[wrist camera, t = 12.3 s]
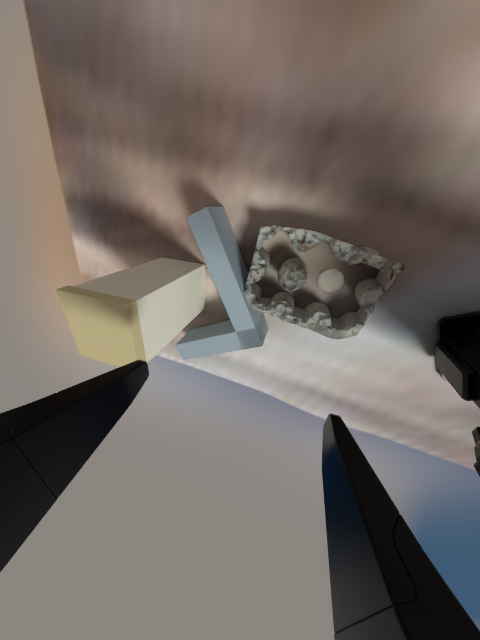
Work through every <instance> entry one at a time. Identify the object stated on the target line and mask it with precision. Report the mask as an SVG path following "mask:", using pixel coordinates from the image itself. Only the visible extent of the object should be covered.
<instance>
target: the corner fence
mask: <svg viewBox="0 0 480 640" xmlns="http://www.w3.org/2000/svg"><path fill="white" fill-rule="evenodd" d="M186 219H187V221H188V223H189V226H190V228H191V230H192V233H193V235H194V237H195V239H196V242H197V244H198V246H199V249H200V251H201V253H202V256H203V258H204V260H205V262H206V265H207V267H208V269H209V272H210V274H211V276H212V279H213V281H214V283H215V285H216V288H217V290H218V292H219V295H220V297H221V299H222V302H223V304H224V306H225V308H226V311H227V313H228V315H229V318H230V320H227V321H223V322H219V323H215V324H211V325H207V326H202V327H198V328H194V329H191V330H190V331H189V332H188V333H187V334H186V335H185V336H184V337H183V338H182V339H181V340H180V341H179V342H178V343H177V344H176V347H177V349H178V351H179V352H180V354H181V356H182V358H183V360H185V359H190V358H196V357H202V356H208V355H213V354H219V353H225V352H231V351H236V350H242V349H248V348H254V347H259V346H262V345H263V342H264V339H265V336H266V334H267V331H268V326H267V323H266V320H265V318H264V315H263V312H260V311H257V310H254V309H251V308H249V305H248V302H247V299H246V297H245V294H244V291H245V287H246V282H247V278H248V275H249V274H248V272H247V269H246V266H245V264H244V261H243V258H242V255H241V253H240V250H239V247H238V245H237V242H236V239H235V237H234V234H233V231H232V228H231V226H230V223H229V220H228V218H227V215H226V212H225V209H224V207H205V208H203V209H201V210H200V211H198V212H196V213H194V214H192V215H190V216H188V217H186Z"/></svg>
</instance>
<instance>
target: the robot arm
mask: <svg viewBox="0 0 480 640" xmlns="http://www.w3.org/2000/svg"><path fill="white" fill-rule="evenodd" d="M446 322H449V323H448V324H447V325H444V324H445V323H446ZM437 328H438V342H436V344H435V358H436V367H437V368H438V369H439V370H440V376H441V378H442V379H443V380H445V381H448V382H449V383H450V384H451V385H452V387H453V388H454V389H455V390H456V392H457V393H458V394H459V395H460V396H461V398H463V399H464V400H466V401H474V403H475V404H476V405H477V406H478V407H479V408H480V312H474V313H468V314H462V315H456V316H450V317H445V318H442V319H440V320H439V321H438V323H437ZM148 375H149V370H148V365H147V362H146V361H143V360H136V361H134V362H131V363H129V364H126V365H124V366H121V367H119V368H117V369H114V370H112V371H109V372H107V373H104V374H102V375H99V376H97V377H94V378H92V379H89V380H87V381H84V382H82V383H79V384H77V385H74V386H72V387H69V388H67V389H65V390H62V391H59V392H58V393H54V394H52V395H50V396H47V397H45V398H42V399H39V400H37V401H34V402H32V403H29V404H26V405H23V406H21V407H18V408H15V409H12V410H9V411H6V412H4V413H1V414H0V572H1V571H2V569H3V568H4V567H5V566H6V564H7V563H8V562H9V561H10V559H11V558H12V557H13V555H14V554H15V553H16V552H17V550H18V549H19V548H20V546H21V545H22V544H23V542H24V541H25V540H26V539H27V537H28V536H29V535H30V534H31V532H32V531H33V530H34V528H35V527H36V526H37V524H38V523H39V522H40V521H41V519H42V518H43V517H44V516H45V514H46V513H47V511H48V510H49V509H50V508H51V507H52V505H53V504H54V503H55V501H56V500H57V498H58V497H59V496H60V495H61V493H62V492H63V491H64V490H65V488H66V487H67V486H68V484H69V483H70V482H71V481H72V479H73V478H74V477H75V475H76V474H77V473H78V472H79V470H80V469H81V467H82V466H83V465H84V464H85V463H86V461H87V460H88V459H89V457H90V456H91V455H92V453H93V452H94V451H95V450H96V448H97V447H98V446H99V445H100V443H101V442H102V441H103V439H104V438H105V437H106V435H107V434H108V433H109V432H110V430H111V429H112V428H113V426H114V425H115V424H116V423H117V421H118V420H119V419H120V418H121V416H122V415H123V414H124V412H125V411H126V410H127V409H128V407H129V406H130V405H131V403H132V402H133V400H134V399H135V397H136V395H137V394H138V392H139V391H140V389H141V388H142V386H143V384H144V383H145V381H146V380H147V378H148ZM472 434H473V437H474V441H475V444H476V446H475V447H474V449H475V456H476V460H477V462H476V463H475V464H474V467H475V469H476V471H477V472H478V474H479V476H480V427H476V428H475V429H474V430H473V431H472ZM322 477H323V491H324V504H325V517H326V530H327V543H328V557H329V570H330V583H331V596H332V609H333V622H334V632H335V634H334V638H335V640H480V631H479V629H478V628H477V627H476V625H475V624H474V623H473V621H472V620H471V618H470V617H469V615H468V614H467V612H466V611H465V610H464V608H463V607H462V605H461V604H460V603H459V601H458V600H457V598H456V597H455V596H454V594H453V593H452V591H451V590H450V588H449V587H448V586H447V584H446V583H445V581H444V580H443V578H442V577H441V575H440V574H439V572H438V571H437V570H436V568H435V567H434V565H433V564H432V562H431V561H430V560H429V558H428V556H427V555H426V554H425V552H424V551H423V550H422V547H421V546H420V544H419V543H418V541H417V540H416V538H415V537H414V535H413V533H412V532H411V530H410V529H409V527H408V526H407V524H406V522H405V521H404V519H403V517H402V516H401V515H400V514H399V511H398V510H397V508H396V506H395V505H394V503H393V501H392V500H391V498H390V497H389V495H388V494H387V492H386V490H385V488H384V487H383V485H382V483H381V482H380V480H379V479H378V477H377V475H376V474H375V472H374V471H373V469H372V467H371V466H370V464H369V463H368V461H367V459H366V458H365V456H364V454H363V453H362V451H361V449H360V448H359V446H358V445H357V443H356V442H355V440H354V438H353V437H352V435H351V433H350V432H349V430H348V428H347V427H346V425H345V423H344V422H343V420H342V419H341V417H340V416H338V415H335V414H329V415H328V417H327V419H326V422H325V424H324V427H323V449H322Z"/></svg>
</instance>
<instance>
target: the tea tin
mask: <svg viewBox="0 0 480 640" xmlns="http://www.w3.org/2000/svg"><path fill="white" fill-rule="evenodd" d="M57 293H58V295H59V298H60V301H61V304H62V306H63V309H64V312H65V315H66V318H67V320H68V323H69V326H70V329H71V331H72V334H73V337H74V339H75V342H76V345H77V348H78V350H79V353H80V355H82V356H85V357H89V358H92V359H95V360H99V361H102V362H106V363H109V364H112V365H115V366H119V367H121V366H124V365H126V364H129V363H131V362H134V361H136V360H143V361H146V362H147V363H148V362H149V361H150V360H151V359H152V358H153V357H154V356H155V355H156V354H157V353H158V352H159V351H160V350H161V349H162V348H163V347H164V346H166V345H167V344H168V343H169V342H170V341H171V340H172V339H173V338H174V337H175V336H176V335H177V334H178V333H179V332H180V331H181V330H182V329H183V328H184V327H186V326H187V325H188V324H189V323H190V322H191V321H192V320H193V319H194V318H195V317H196V316H197V315H198V314H199V313H200V312H201V311H202V310H203V309H204V308H205V264H199V263H193V262H187V261H181V260H175V259H169V258H163V257H161V258H158V259H155V260H152V261H149V262H146V263H143V264H140V265H137V266H134V267H131V268H128V269H125V270H122V271H119V272H115V273H112V274H109V275H106V276H103V277H100V278H97V279H94V280H91V281H88V282H85V283H82V284H79V285H76V286H66V287H63V288H60V289H57Z"/></svg>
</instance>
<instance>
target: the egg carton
mask: <svg viewBox="0 0 480 640" xmlns="http://www.w3.org/2000/svg"><path fill="white" fill-rule="evenodd" d="M279 230H285V231H287V232H288V235H289V236H290V241H291V243H292V245H293V246H294V247H295V248H297V249H298V250H299V251H300V252H306V251H308V250H310V249H312V248H314V247H316V246H317V245H318V244H319V242H320V241H321V240H324V241H327V242H329V245H330V247H331V250H332V253H333V254H334V255H336V258H337V259H338V260H339V261H343V262H346V263H347V265H352V264H358V263H360V262H362V263H364V264H367V265H370V266H372V267H375V268H377V269H380V272H379V274H378V276H377V277H376V278H369V279H365V280H363V281H361V282H360V283H359V284H358V285H357V286H356V288H355V297H356V299H357V302H358V303H359V305H360V306H361V307H360V308H359V310H358V311H357V312H350V313H346V314H344V315H343V316H342V317H341V318H340V319H334V318H331V317H330V312H329V309H328V307H327V306H326V305H325V304H323V303H321V302H313V303H311V304H309V305H308V306H307V307H306V308H305V309H301V308H297V307H295V306H294V299H293V297H292V296H291V295H290V294H288V293H286V292H279V293H276V294H275V295H274V296H273V297H272V298H271V299H267V298H264V297H262V291H261V288H260V287H259V286H258V285H257V284H255V283H254V282H258V281H259V280H260V278H261V277H262V276H263V275H264V274H265V273H266V272H267V270H268V269H269V267H270V264H271V259H270V256H269V254H268V253H267V252H266V251H265V250H263V249H262V244H263V240H268V239H271V238H272V237H273V236H274V235H276V233H277V232H278V231H279ZM404 267H405V266H404V264H400V263H398V262H396V261H392V260H388V259H385V258H383V257H380V254H379V252H378V251H377V250H374V249H371V248H368V247H365V246H363V247H360V248H358V247H357V246H355V245H352V244H349V243H346V242H342V241H339V240H336V239H334V238H332V237H329V236H327V235H324V234H321V233H319V232H315V231H311V230H304V229H297V228H289V227H280V226H276V225H272V226H271V227H268V226H261V228H260V232H259V236H258V240H257V244H256V248H255V251H254V255H253V259H252V263H251V267H250V271H249V275H248V278H247V282H246V287H245V291H244V294H245V297H246V299H247V302H248V305H249V308H251V309H254V310H257V311H260V312H266V313H269V314H271V315H272V316H277V317H279V318H280V319H281V320H282V321H285V322H289V323H293V324H296V325H298V326H301V327H304V328H308V329H310V330H313V331H315V332H317V333H320V334H322V335H324V336H326V337H329V338H333V339H343V338H347V337H351V336H355V335H357V333H358V332H359V331H360V329H361V328H362V327H363V326H364V323H365V321H366V320H367V318H368V316H369V315H370V314H371V313H372V312H373V310H374V308H375V304H376V302H377V300H378V299H379V297H380V296H381V294H382V292H383V291H386V290H387V289H388V288H389V287H390V286H391V284H392V283H393V281H394V280H395V278H396V276H397V275H398V273H399V272H400V271H402V270H403V269H404ZM278 280H279V283H280V285H281V286H282V287H283V288H284V289H285V290H286V291H288V292H291V291H294V290H297V289H300V288H302V287H303V286H304V284H305V282H306V280H307V272H306V265H305V263H304V262H303V261H302V260H300V259H298V258H290V259H288V260H286V261H285V262H284V263H283V264H282V265H281V268H280V271H279V273H278ZM343 283H344V275H343V274H342V272H341V271H340V270H338V269H336V268H328V269H325V270H323V271H322V272H321V273H320V274H319V276H318V278H317V284H318V286H319V288H320V289H321V290H323V291H324V292H327V293H331V292H335V291H337V290H339V289H340V288H341V287H342V285H343Z"/></svg>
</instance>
